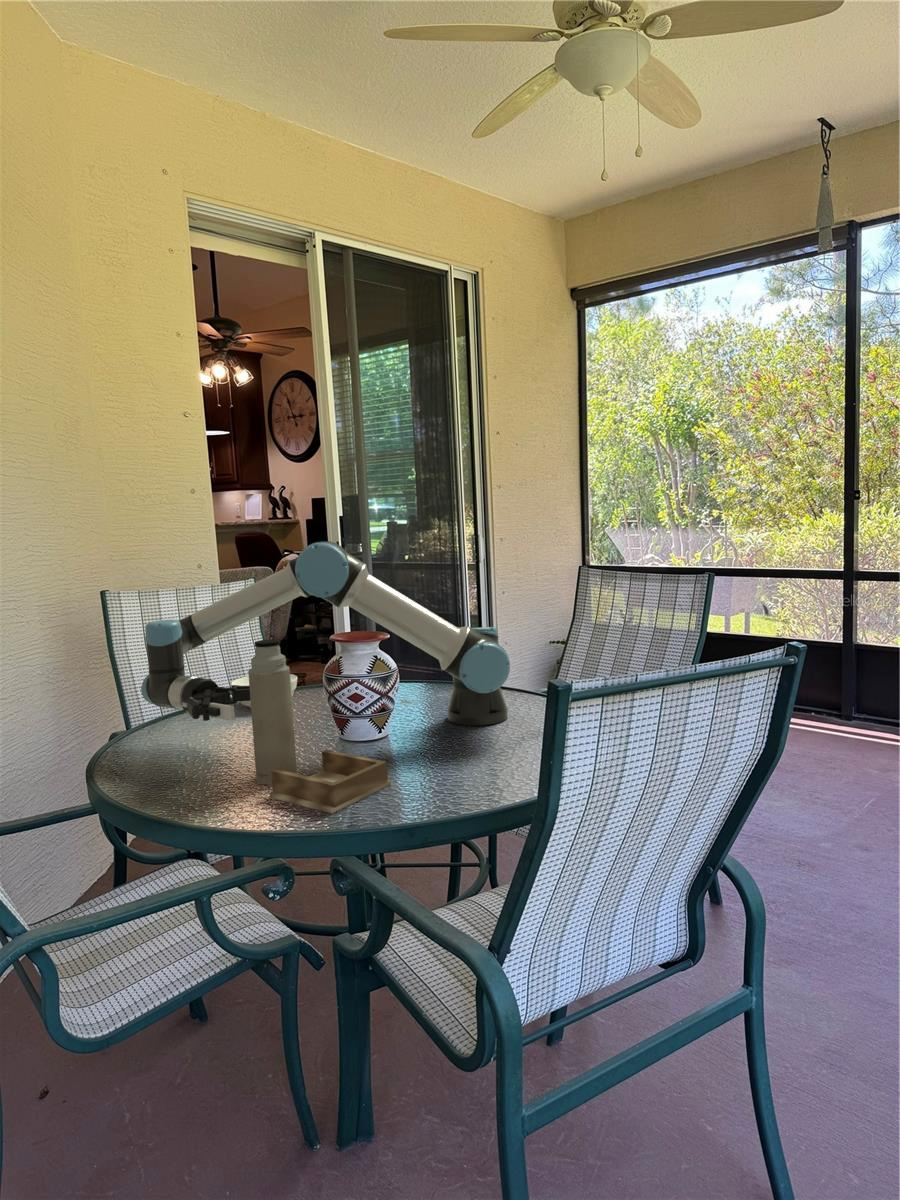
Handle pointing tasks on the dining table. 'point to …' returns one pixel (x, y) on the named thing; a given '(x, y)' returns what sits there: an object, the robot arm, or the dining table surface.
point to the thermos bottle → (271, 711)
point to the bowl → (245, 682)
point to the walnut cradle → (332, 782)
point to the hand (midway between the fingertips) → (260, 705)
